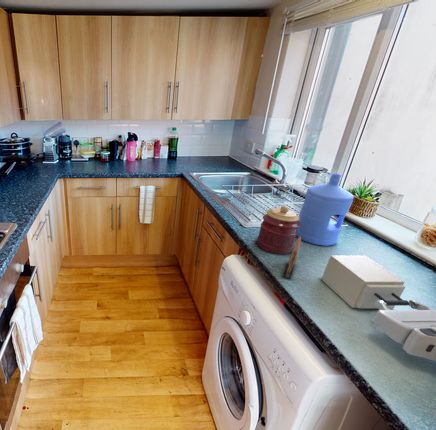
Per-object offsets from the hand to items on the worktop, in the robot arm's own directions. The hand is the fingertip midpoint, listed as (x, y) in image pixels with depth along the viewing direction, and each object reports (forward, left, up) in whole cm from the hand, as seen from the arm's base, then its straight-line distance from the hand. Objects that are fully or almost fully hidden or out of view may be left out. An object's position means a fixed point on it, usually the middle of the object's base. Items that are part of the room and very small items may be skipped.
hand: (394, 301), depth 78 cm
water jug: (+14, -47, -6) cm, 49 cm away
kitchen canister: (+29, -29, -6) cm, 41 cm away
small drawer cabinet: (+6, -10, -6) cm, 13 cm away
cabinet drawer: (+4, -6, -5) cm, 9 cm away
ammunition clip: (+24, -13, -6) cm, 28 cm away
